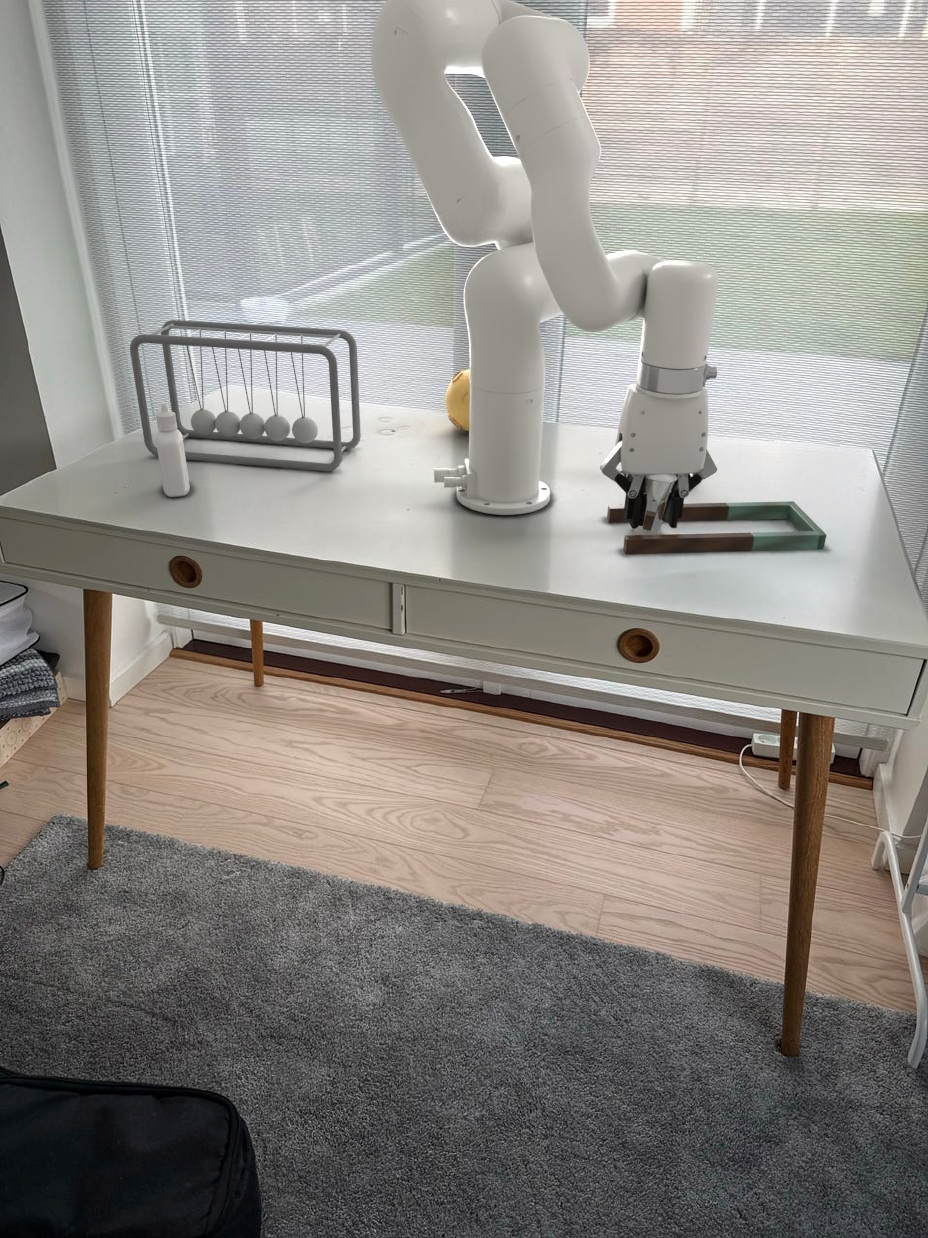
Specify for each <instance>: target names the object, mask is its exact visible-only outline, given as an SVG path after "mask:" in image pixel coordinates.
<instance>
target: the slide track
mask: <svg viewBox="0 0 928 1238" xmlns="http://www.w3.org/2000/svg"><path fill="white" fill-rule="evenodd" d="M624 506H625V504H608V505H607V514H606V521H607V522H608V524H625V523H628V524H629V522H628V520H627V519H625V518H624ZM812 519H813V518H811V517H810V516H809V515H808V514H807V513H806V512H805V511H804V510H803V509H802V508H801V507H800V506H799V505H798V504H797V503H796V502H795V501H793V500H792V501H791V500H790V501H750V502H749V501H747V502H746V501H745V502H744V501H743V502H741V501H740V502H699V503H698V502H697V503H695V502H694V503H692V502H691V503H684V504H683V511H682V517H681V519H678V522H713V521H714V522H717V521H719V522H720V521H721V522H722V521H756V520H758V521H759V520H760V521H761V520H763V521H764V520H788V522H789V523H790V524H791V525H792V526H793V527H794V528H795V529H796V531H760V532H757V531H756V532H713V533H712V532H710V533H670V534H669V533H667V534H659V535H635V534H630V535H629V534H628V535H627V534H626V535H624V540H623V549H622V552H623V553H624V555H657V554H658V555H659V554H660V555H661V554H663V555H664V554H665V555H666V554H699V553H706V554H707V553H741V552H742V553H743V552H745V553H746V552H775V551H776V552H777V551H779V552H780V551H816V550H817V551H819V550H824V549H825V544H826V539H827V534H826V532H825V531H824V530H823V529H822V528H821V527H820V526H819V525H818V524H817V523H816V522H815V521H814V520H812ZM663 523H667V521H666V519H665V518H664V521H663Z"/></svg>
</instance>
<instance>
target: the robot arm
mask: <svg viewBox="0 0 928 1238" xmlns="http://www.w3.org/2000/svg"><path fill="white" fill-rule="evenodd" d="M370 50H371V51H370V52H371V56H370V59H371V69H372V75H373V80H374V84H375V87H376V90H377V94H378V95H379V98H380V100H381V103H382V105H383V107H384V109H385V111H386V113H387V115H388V116H389V119H390V120H391V122H392V124H393V126H394V127H395V129H396V131H397V133H398V136H399V137H400V139H401V141H402V143H403V145H404V147H405V149H406V151H407V153H408V156H409V158H410V160H411V162H412V165H413V167H414V170H415V172H416V174H417V176H418V179H419V180H420V183H421V185H422V187H423V190H424V191H425V194H426V196H427V198H428V201H429V203H430V205H431V207H432V209H433V212H434V214H435V216H436V218H437V220H438V223H439V224H440V226H441V228H442V230H443V232H444V233H445V234H446V236H447V237H448V238H449V239H450V240H451V241H452V242H453V243H454V244H456V245H458V246H461V247H469V248H471V247H481V246H485V245H491V244H495V247H496V248H497V250H495V251H492V252H489V253H488V254H486V255H485V256H483V257H482V258H480V259H479V260H478V261H477V262H476V263H475V264H474V266H472V268H471V269H470V271H469V272H468V275H467V277H466V279H465V283H464V288H463V307H464V316H465V321H466V325H467V326H466V328H467V334H468V343H469V344H468V346H469V348H468V349H469V369H470V414H469V431H468V458H465V459H464V465H457V467H456V468H447V467H437V468H436V467H434V468H433V483H436V484H439V483H443V488H456V499H457V501H458V502H459V503H460V504H461V505H463V506H464V507H466V508H468V509H470V510H472V511H475V512H479V513H483V514H487V515H488V514H489V515H495V516H497V515H498V516H516V515H517V516H518V515H524V514H529V513H534V512H536V511H539V510H540V509H543V508H544V507H545V506H548V503H549V502H550V500H551V489H550V487H549V486H548V485H547V484H546V483H545V482H543V481H541V480H540V479H541V478H540V477H541V462H542V461H541V460H542V444H543V442H542V441H543V427H544V426H543V425H544V408H545V407H544V406H545V405H544V404H545V388H546V355H545V349H544V343H543V340H542V335H541V330H540V329H541V328H540V324H541V323H544V322H546V321H550V320H552V319H554V318H556V317H558V316H559V317H560V316H561V315H562V314H563V315H564V317H565V318H566V319H567V320H568V321H569V322H570V323H571V325H573V326H574V327H576V328H577V329H579V330H582V331H585V332H588V333H600V332H603V331H607V330H610V329H612V328H614V327H617V326H619V325H621V324H623V323H627V322H631V321H635V320H639V319H642V327H641V328H642V329H641V337H640V346H639V347H640V348H639V355H638V364H637V371H636V372H637V374H636V382H635V383H630V384H629V385H628V387H627V389H626V393H625V396H624V399H623V403H622V408H621V412H620V416H619V422H618V427H617V432H616V439H615V444H614V447H613V449H612V450H611V452H610V453H609V454H608V456H607V457H606V458H605V459H604V460H603V462H602V463H601V464H600V466H599V470H600V471H601V473H602V474H603V475H604V476H605V477H607V478H608V479H609V480H611V481H613V482H615V483H616V484H617V486H619V488H620V489H621V490H622V491H623V492H624V494H625V498H624V505H625V506H624V518H625V519H627V520H628V522H629V523H628V524H629V526H630V528H631V530H632V529H636V528H637V527H638V526H639V517H640V509H641V498H640V496H639V490H640V487H641V484H642V481H643V478H644V475H654V474H672V475H675V474H677V477H678V479H677V483H676V486H675V488H674V491H673V494H672V497H671V499H670V502H669V505H668V508H667V512H666V515H665V519H666V521H667V522H666V523H667V524H668V526H669V528H671V529H677V527H678V522H679V521H678V519H681V517H682V511H683V504H685V499H686V498H688V496H689V495H690V492H691V491H692V490H693V489H695V488H696V487H697V486H698V485H699V484H701V482H702V481H703V480H706V479H708V478H709V477H711V476H712V475H714V474H715V473H717V471H718V466H717V465H716V464H715V461H714V460H713V458H712V456H711V454H710V452H709V451H708V449H707V448H708V438H709V394H708V390H707V388H706V383H707V381H709V380H716V379H717V377H718V367H717V366H711V365H709V364H708V363H707V362H708V361H707V360H708V353H709V347H710V341H711V335H712V328H713V327H712V326H713V320H714V314H715V307H716V300H717V294H718V286H719V275H718V272H717V270H716V269H715V267H713V266H712V265H710V264H708V263H705V262H701V261H694V260H682V259H681V260H680V259H679V260H678V259H677V260H676V259H675V260H670V259H665V258H662V257H658V256H655V255H652V254H649V253H645V252H641V251H637V250H620V251H617V252H613V253H609V254H606V252H605V249H604V247H603V245H602V242H601V241H600V238H599V235H598V233H597V229H596V227H595V224H594V220H593V217H592V211H591V202H590V192H591V184H592V182H593V181H592V180H593V178H594V174H595V172H596V169H597V167H598V164H599V162H600V159H601V157H602V146H601V142H600V140H599V137H598V135H597V133H596V131H595V129H594V125H593V123H592V121H591V118H590V117H589V114H588V112H587V110H586V107H585V104H584V102H583V99H582V97H581V95H580V93H581V91H582V90H583V88H585V87H584V86H585V85H586V83H587V80H588V77H589V74H590V68H591V67H590V66H591V60H590V59H591V58H590V52H589V47H588V45H587V42H586V39H585V38H584V36H583V35H582V33H581V32H580V31H579V30H578V28H577V27H576V26H575V25H573V24H572V23H571V22H570V21H568V20H565V19H562V18H559V17H557V16H553V15H550V14H547V13H545V12H542V11H540V10H537V9H534V8H531V7H529V6H526V5H523V4H521V3H518V2H515V1H513V0H385V2H384V4H383V5H382V7H381V9H380V10H379V13H378V15H377V17H376V21H375V24H374V28H373V32H372V38H371V49H370ZM446 74H463V75H464V74H465V75H466V74H467V75H474V76H478V77H481V78H483V79H485V81H486V84H487V86H488V89H489V91H490V93H491V96H492V99H493V101H494V103H495V106H496V107H497V110H498V112H499V115H500V117H501V119H502V122H503V123H504V126H505V128H506V131H507V133H508V135H509V138H510V140H511V142H512V145H513V147H514V149H515V151H516V154H517V157H518V158H517V157H512V156H495V157H494V156H493V155H492V154H491V153H490V151H489V150H488V148H487V146H486V144H485V142H484V140H483V138H482V135H481V134H480V131H479V130H478V127H477V124H476V122H475V120H474V117H473V115H472V113H471V111H470V110H469V108H468V107H467V105H466V104H465V102H464V101H463V99H462V98H461V97H460V96H459V95H458V94H457V92H456V91H455V90H454V89H453V88H452V86H451V84H450V83H449V81H448V79H447V76H446ZM619 464H620V466H621V470H619V469H618V468H617V467H618V465H619ZM622 470H623V471H624V472H626V473H627V475H626V476H625V475H624V474H623V473H622V472H621V471H622Z"/></svg>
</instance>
